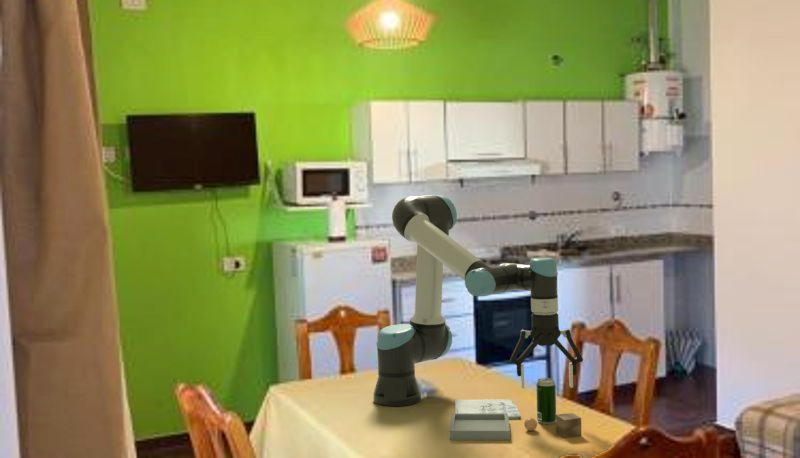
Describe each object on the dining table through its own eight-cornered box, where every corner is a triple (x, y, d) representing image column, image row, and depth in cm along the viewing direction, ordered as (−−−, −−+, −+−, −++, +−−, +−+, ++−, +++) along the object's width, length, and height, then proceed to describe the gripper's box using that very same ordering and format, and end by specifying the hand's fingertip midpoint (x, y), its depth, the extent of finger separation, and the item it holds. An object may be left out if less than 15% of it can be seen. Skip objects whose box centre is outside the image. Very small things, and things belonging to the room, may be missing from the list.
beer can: (546, 425, 231) (545, 383, 230) (533, 421, 236) (532, 380, 235) (560, 422, 234) (559, 380, 233) (547, 417, 238) (546, 377, 238)
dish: (450, 439, 221) (449, 430, 221) (451, 421, 237) (451, 413, 237) (510, 439, 220) (509, 430, 220) (507, 421, 236) (507, 413, 236)
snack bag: (455, 422, 239) (455, 415, 239) (454, 403, 259) (453, 396, 259) (521, 421, 238) (521, 414, 238) (514, 402, 258) (514, 395, 258)
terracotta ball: (524, 432, 226) (524, 420, 226) (524, 428, 229) (523, 416, 229) (537, 432, 225) (537, 420, 225) (536, 428, 229) (536, 416, 229)
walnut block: (564, 438, 220) (564, 419, 220) (556, 432, 225) (556, 414, 225) (581, 436, 222) (581, 418, 221) (573, 430, 226) (572, 412, 226)
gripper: (500, 316, 230) (503, 390, 231) (591, 313, 228) (593, 389, 229) (499, 311, 238) (502, 384, 239) (587, 309, 235) (589, 382, 236)
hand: (547, 387), depth 234 cm, fingers open, 13 cm apart
